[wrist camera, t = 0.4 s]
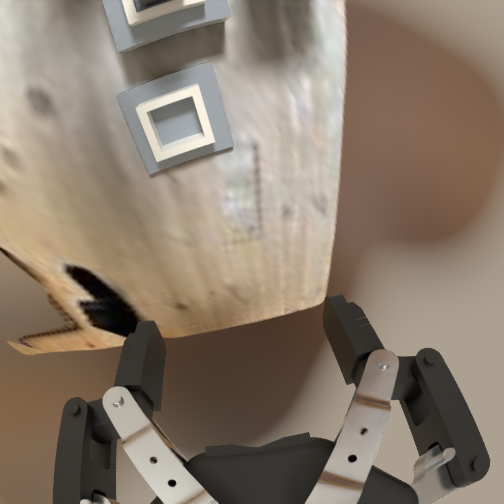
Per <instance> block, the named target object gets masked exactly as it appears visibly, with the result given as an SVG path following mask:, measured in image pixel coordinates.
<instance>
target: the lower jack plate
mask: <svg viewBox="0 0 504 504" xmlns="http://www.w3.org/2000/svg"><path fill="white" fill-rule="evenodd" d="M117 99H118V102H119V104H120V107H121V109H122V112H123V114H124V117H125V120H126V122H127V124H128V127H129V129H130V132H131V134H132V137H133V139H134V141H135V144H136V146H137V148H138V151H139V153H140V155H141V158H142V160H143V162H144V165H145V167H146V169H147V171H148V174H149V175H150V174H153V173H155V172H158V171H161V170H163V169H166V168H169V167H172V166H174V165H177V164H180V163H183V162H186V161H189V160H192V159H195V158H198V157H201V156H204V155H207V154H210V153H213V152H216V151H220V150H223V149H226V148H230V147H233V146H234V143H233V140H232V136H231V132H230V128H229V125H228V121H227V117H226V113H225V110H224V106H223V102H222V98H221V95H220V91H219V87H218V84H217V80H216V76H215V73H214V69H213V65H212V62H207V63H203V64H200V65H196V66H193V67H190V68H187V69H183V70H180V71H177V72H174V73H171V74H168V75H166V76H163V77H160V78H157V79H155V80H152V81H150V82H147V83H144V84H142V85H140V86H137V87H135V88H132V89H130V90H128V91H126V92H123V93H121V94H119V95H117Z"/></svg>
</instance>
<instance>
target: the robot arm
mask: <svg viewBox="0 0 504 504" xmlns="http://www.w3.org/2000/svg"><path fill="white" fill-rule="evenodd" d="M323 327H324V330H325V333H326V336H327V338H328V340H329V343H330V345H331V347H332V350H333V352H334V355H335V357H336V360H337V362H338V364H339V367H340V369H341V372H342V374H343V377H344V379H345V382H346V384H347V385H348V384H351V383H354V384H355V386H356V390H355V393H354V396H353V398H352V401H351V403H350V406H349V408H348V411H347V413H346V416H345V418H344V420H343V423H342V425H341V427H340V429H339V431H338V433H337V435H336V438H335V440H334V442H333V441H330V440H327V439H323V438H317V437H310V434H309V432H307V433H303V434H299V435H293V436H288V437H284V438H281V439H279V440H276V441H274V442H271V443H269V444H266V445H264V446H261V447H246V446H245V447H244V446H237V445H221V446H206V452H204V453H201V454H199V455H197V456H195V457H193V458H191V459H190V460H187V459H186V457H185V456H184V455H183V454H182V453H181V452H180V451H179V450H178V449H177V448H176V447H175V446H174V445H173V444H172V442H171V441H170V440H169V439H168V437H167V436H166V435H165V434H164V432H163V431H162V430H161V429H160V427H159V426H158V425H157V423H156V422H155V421H154V419H153V418H152V416H153V411H161V399H162V387H163V375H164V366H165V356H166V347H165V343H164V340H163V338H162V336H161V334H160V332H159V329H158V327H157V325H156V323H155V321H143V322H138V324H137V327H136V331H135V333H130V334H129V336H128V337H127V338H126V340H125V341H124V345H123V349H122V353H121V357H120V362H119V366H118V370H117V374H116V379H115V383H114V387H113V388H111V389H110V390H108V391H107V392H106V393H105V395H104V397H103V398H102V399H99V400H95V401H91V402H88V403H87V402H86V401H85V400H83V399H82V398H80V397H74V398H72V399H70V400H69V401H67V403H66V404H65V406H64V409H63V414H62V419H61V425H60V431H59V437H58V444H57V451H56V461H55V471H54V485H53V504H120V503H119V502H118V501H116V445H117V439H121V438H122V440H123V443H122V446H123V448H124V449H125V451H126V453H127V454H128V456H129V457H130V459H131V460H132V462H133V463H134V465H135V466H136V468H137V469H138V470H139V472H140V473H141V475H142V476H143V477H144V479H145V480H146V481H147V483H148V484H149V485H150V487H151V488H152V489H153V491H154V492H155V493H156V494H157V497H156V498H155V499H154V500H153V501H152V502H151V504H431V503H433V502H435V501H436V500H438V499H440V498H442V497H444V496H445V495H447V494H449V493H451V492H453V491H456V490H458V489H461V488H463V487H465V486H468V485H470V484H472V483H475V482H477V481H479V480H481V479H482V478H483V477H484V476H485V475H486V474H487V472H488V470H489V467H490V458H489V455H488V452H487V450H486V447H485V444H484V442H483V439H482V437H481V435H480V432H479V430H478V427H477V425H476V423H475V421H474V418H473V416H472V414H471V412H470V410H469V408H468V405H467V403H466V402H465V399H464V397H463V395H462V393H461V391H460V389H459V387H458V385H457V383H456V381H455V379H454V378H453V376H452V374H451V372H450V370H449V368H448V367H447V365H446V363H445V362H444V359H443V358H442V356H441V354H440V353H439V352H438V351H436V350H435V349H432V348H424V349H421V350H420V351H419V352H418V353H417V355H416V356H407V357H399V356H396V355H395V354H394V353H393V352H391V351H389V350H386V349H385V348H384V347H383V345H382V343H381V341H380V340H379V338H378V336H377V334H376V333H375V331H374V329H373V327H372V326H371V324H370V322H369V321H368V319H367V318H366V316H365V314H364V312H363V310H362V309H361V308H360V307H359V306H358V305H356V304H355V303H354V302H351V303H347V302H346V300H345V298H344V296H343V295H342V294H336V295H331V296H326V297H325V303H324V312H323ZM390 400H399V401H400V404H401V407H402V409H403V412H404V414H405V417H406V419H407V422H408V425H409V428H410V430H411V433H412V435H413V438H414V441H415V444H416V447H417V450H418V453H419V456H420V457H419V458H418V459H417V461H416V462H415V465H414V480H413V483H412V485H411V486H410V485H409V484H407V483H405V482H403V481H401V480H399V479H397V478H396V477H393V476H392V475H390V474H388V473H386V472H384V471H382V470H381V469H379V468H377V467H375V466H374V465H372V463H373V461H374V459H375V456H376V453H377V451H378V448H379V445H380V442H381V439H382V437H383V434H384V430H385V427H386V424H387V421H388V418H389V414H390V410H391V406H390Z"/></svg>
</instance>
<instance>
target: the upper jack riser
mask: <svg viewBox="0 0 504 504" xmlns="http://www.w3.org/2000/svg"><path fill="white" fill-rule="evenodd" d="M102 2H103V5H104V9H105V12H106V16H107V19H108V22H109V26H110V29H111V32H112V35H113V39H114V42H115V45H116V48H117V51H118V52H129V51H132V50H134V49H136V48H139V47H141V46H144V45H146V44H149V43H152V42H154V41H157V40H160V39H163V38H166V37H169V36H172V35H175V34H178V33H182V32H185V31H188V30H192V29H196V28H199V27H203V26H207V25H212V24H216V23H220V22H225V21H226V20H227V19H229V18H230V17H231V14H230V10H229V7H228V3H227V0H165V1H162V2H159V3H156V4H153V5H150V6H148V7H144V5H143V4H142V3H141V2H140V1H139V0H102Z"/></svg>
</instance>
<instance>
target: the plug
mask: <svg viewBox="0 0 504 504" xmlns="http://www.w3.org/2000/svg"><path fill="white" fill-rule="evenodd" d="M139 1H140V2H141V3H142V4H143V5H144V7H148V6H150V5H153V4H156V3H159V2H162V1H165V0H139Z"/></svg>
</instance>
